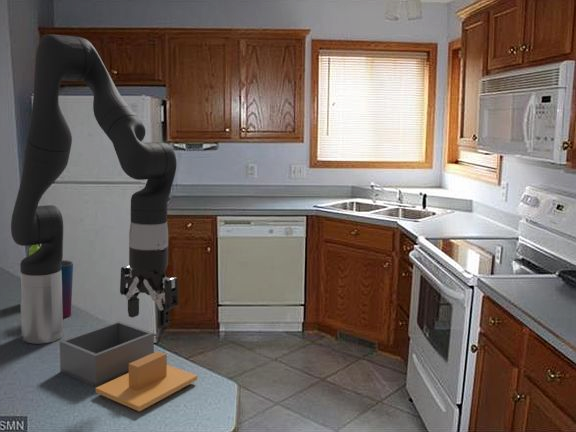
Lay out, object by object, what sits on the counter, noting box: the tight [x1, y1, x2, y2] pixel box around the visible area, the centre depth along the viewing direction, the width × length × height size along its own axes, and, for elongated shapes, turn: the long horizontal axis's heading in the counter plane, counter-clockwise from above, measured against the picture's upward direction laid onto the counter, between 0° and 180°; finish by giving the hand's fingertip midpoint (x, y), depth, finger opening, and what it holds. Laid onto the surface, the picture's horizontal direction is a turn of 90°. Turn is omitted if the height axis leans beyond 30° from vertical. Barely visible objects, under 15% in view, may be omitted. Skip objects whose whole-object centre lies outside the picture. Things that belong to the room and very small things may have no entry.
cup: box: [61, 259, 74, 319], centre depth 155 cm, size 7×7×15 cm
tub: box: [59, 320, 155, 389], centre depth 126 cm, size 12×16×7 cm
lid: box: [95, 350, 198, 412], centre depth 116 cm, size 12×16×7 cm
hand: (148, 321), depth 114 cm, fingers open, 8 cm apart
